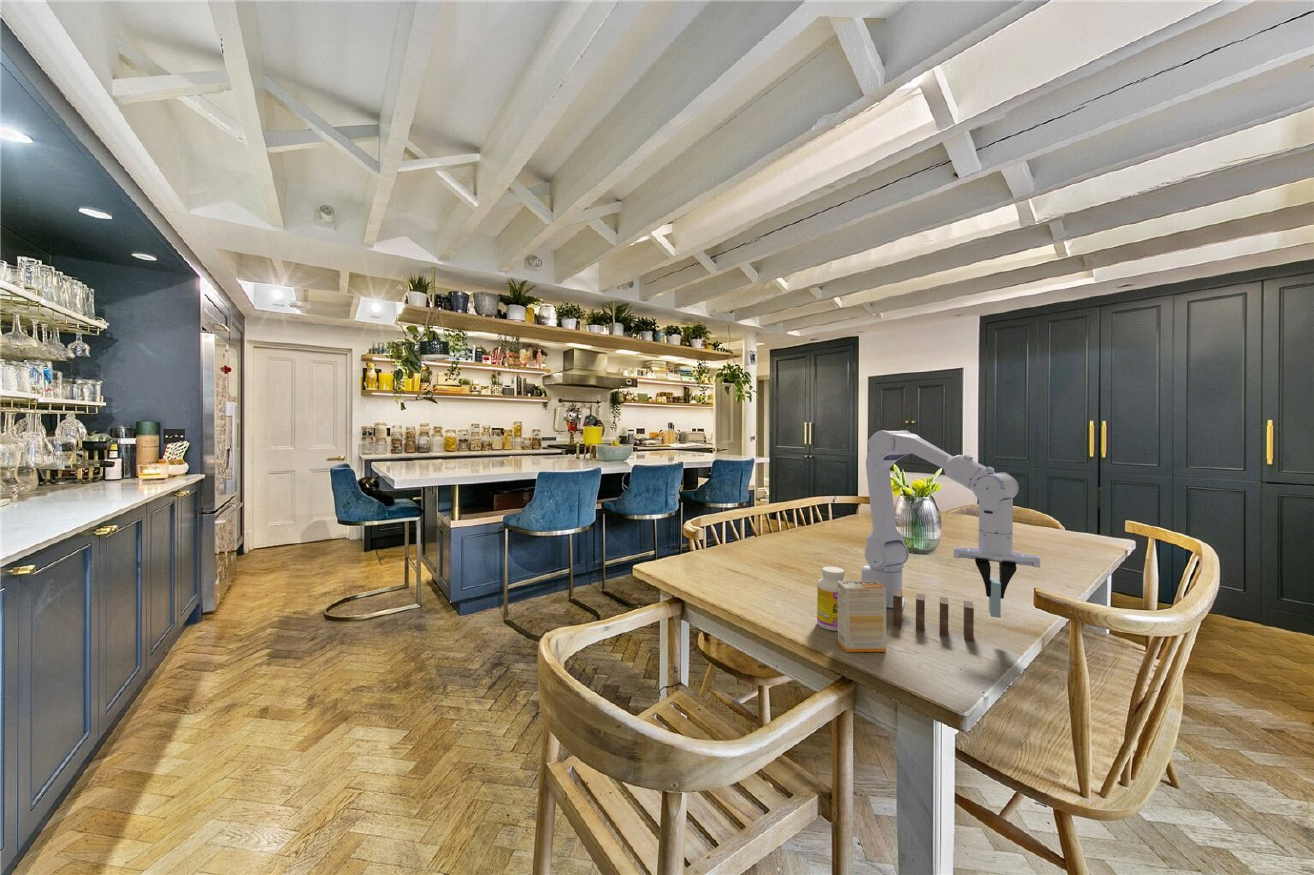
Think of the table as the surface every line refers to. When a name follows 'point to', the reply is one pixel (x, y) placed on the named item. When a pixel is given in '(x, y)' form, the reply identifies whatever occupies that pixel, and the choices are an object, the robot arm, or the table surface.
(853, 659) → the table surface
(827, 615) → the supplement bottle
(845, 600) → the supplement box
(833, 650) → the table surface
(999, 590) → the teal domino
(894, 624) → the domino
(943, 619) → the domino
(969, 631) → the domino
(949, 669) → the table surface
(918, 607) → the domino
